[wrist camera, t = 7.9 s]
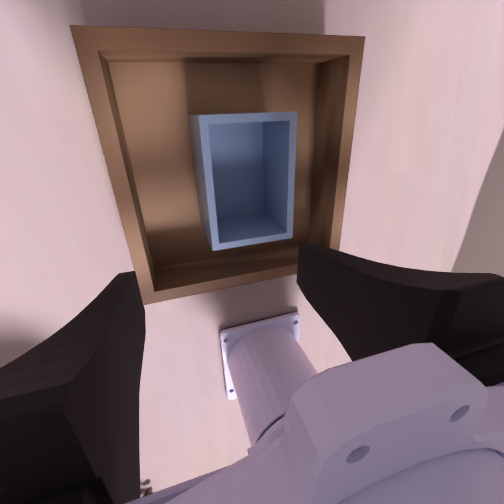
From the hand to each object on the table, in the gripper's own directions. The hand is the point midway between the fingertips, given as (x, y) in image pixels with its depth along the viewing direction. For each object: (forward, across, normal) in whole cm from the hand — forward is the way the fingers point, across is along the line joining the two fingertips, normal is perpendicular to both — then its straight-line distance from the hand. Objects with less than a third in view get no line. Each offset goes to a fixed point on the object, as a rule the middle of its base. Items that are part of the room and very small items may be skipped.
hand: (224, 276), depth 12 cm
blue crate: (+8, -3, -3) cm, 9 cm away
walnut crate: (+9, -2, -3) cm, 10 cm away
